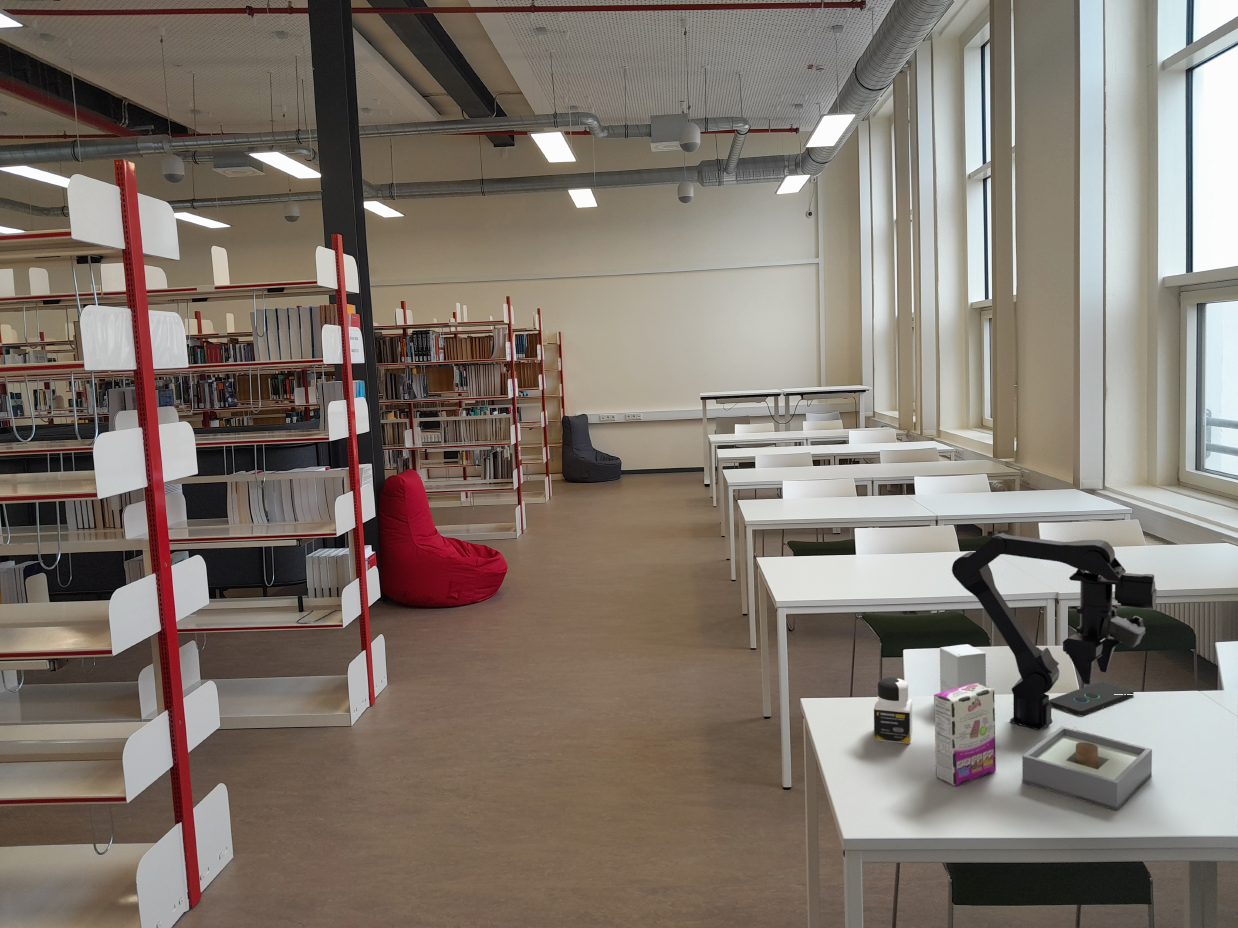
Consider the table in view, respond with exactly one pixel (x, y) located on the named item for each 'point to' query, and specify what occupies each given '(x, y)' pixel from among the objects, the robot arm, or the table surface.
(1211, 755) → the table surface
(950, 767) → the candy bar box
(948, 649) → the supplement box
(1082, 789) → the box
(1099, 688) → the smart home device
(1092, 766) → the peg
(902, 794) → the table surface
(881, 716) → the medicine bottle
